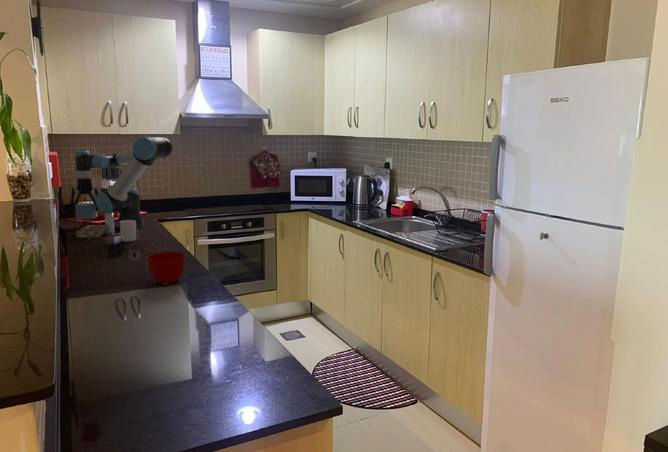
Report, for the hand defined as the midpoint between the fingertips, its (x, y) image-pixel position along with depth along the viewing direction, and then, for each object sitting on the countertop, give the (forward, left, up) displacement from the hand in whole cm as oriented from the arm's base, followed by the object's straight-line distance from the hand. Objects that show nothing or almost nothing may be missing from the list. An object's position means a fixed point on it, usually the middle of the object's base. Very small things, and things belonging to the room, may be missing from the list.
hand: (86, 216), depth 287 cm
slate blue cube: (0, 0, 0) cm, 0 cm away
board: (-8, +18, -7) cm, 21 cm away
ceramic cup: (-61, +116, -7) cm, 131 cm away
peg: (-18, +22, -7) cm, 29 cm away
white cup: (-31, +38, -7) cm, 50 cm away
